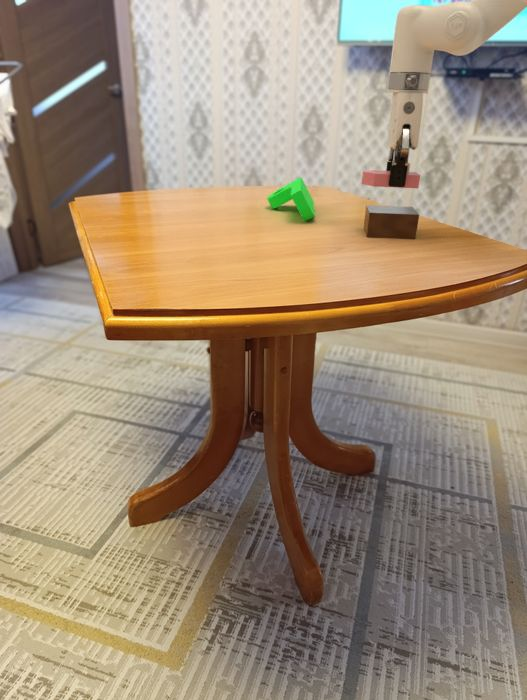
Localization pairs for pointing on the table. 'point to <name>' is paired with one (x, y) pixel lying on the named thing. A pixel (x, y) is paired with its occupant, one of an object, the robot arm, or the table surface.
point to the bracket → (294, 198)
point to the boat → (382, 178)
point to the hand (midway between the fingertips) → (394, 183)
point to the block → (391, 222)
